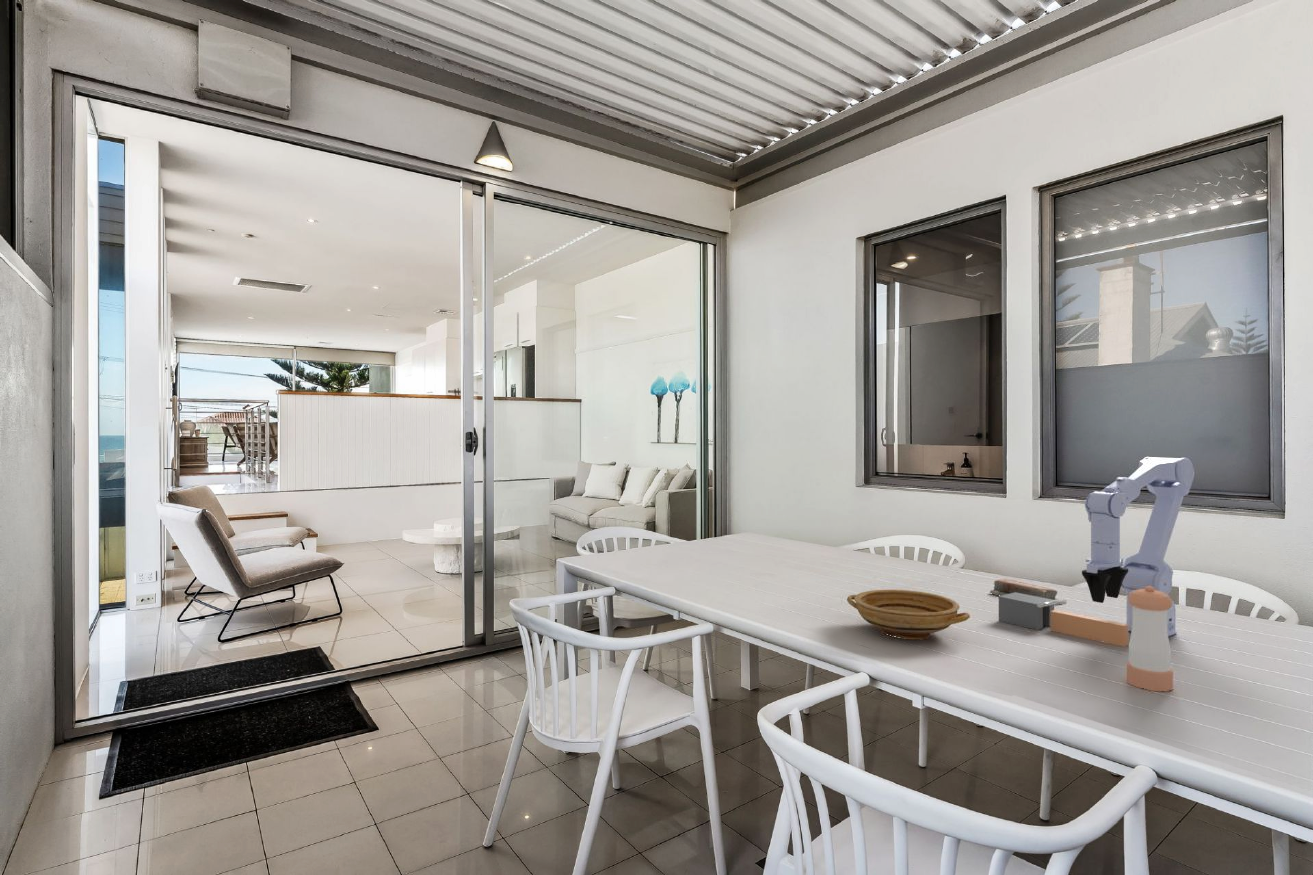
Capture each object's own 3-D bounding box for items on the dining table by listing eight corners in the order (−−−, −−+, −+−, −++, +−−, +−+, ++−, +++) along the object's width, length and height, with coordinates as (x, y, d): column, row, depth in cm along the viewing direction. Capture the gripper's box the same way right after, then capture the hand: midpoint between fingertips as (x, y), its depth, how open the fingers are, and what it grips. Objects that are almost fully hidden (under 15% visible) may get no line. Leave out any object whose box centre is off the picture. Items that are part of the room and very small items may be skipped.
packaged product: (988, 579, 206) (1010, 576, 211) (988, 595, 206) (1010, 592, 211) (1044, 591, 190) (1067, 588, 195) (1044, 609, 190) (1067, 605, 195)
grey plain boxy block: (1057, 625, 172) (1057, 600, 172) (1040, 631, 168) (1040, 605, 168) (1015, 616, 181) (1015, 592, 181) (998, 621, 177) (998, 596, 177)
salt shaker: (1153, 693, 128) (1154, 592, 127) (1117, 680, 135) (1117, 583, 134) (1182, 689, 130) (1182, 589, 129) (1145, 676, 137) (1145, 581, 136)
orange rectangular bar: (1128, 646, 157) (1128, 624, 157) (1124, 647, 155) (1124, 626, 155) (1055, 629, 170) (1055, 609, 170) (1050, 631, 168) (1050, 611, 168)
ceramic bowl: (983, 633, 166) (983, 600, 166) (953, 658, 148) (953, 621, 148) (867, 612, 185) (867, 583, 185) (827, 632, 167) (827, 600, 167)
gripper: (1100, 537, 169) (1100, 592, 169) (1072, 543, 160) (1072, 600, 160) (1132, 541, 163) (1132, 597, 163) (1105, 547, 155) (1105, 606, 155)
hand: (1105, 599), depth 161 cm, fingers open, 7 cm apart
